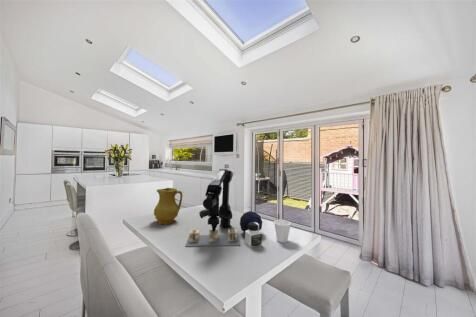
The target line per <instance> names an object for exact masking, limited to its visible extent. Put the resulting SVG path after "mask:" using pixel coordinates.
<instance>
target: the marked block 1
mask: <svg viewBox="0 0 476 317" xmlns="http://www.w3.org/2000/svg"><path fill="white" fill-rule="evenodd" d="M189 235H190V237H189V236H188V238H189V242H198V241H199V235H200V229H190V231H189Z"/></svg>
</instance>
